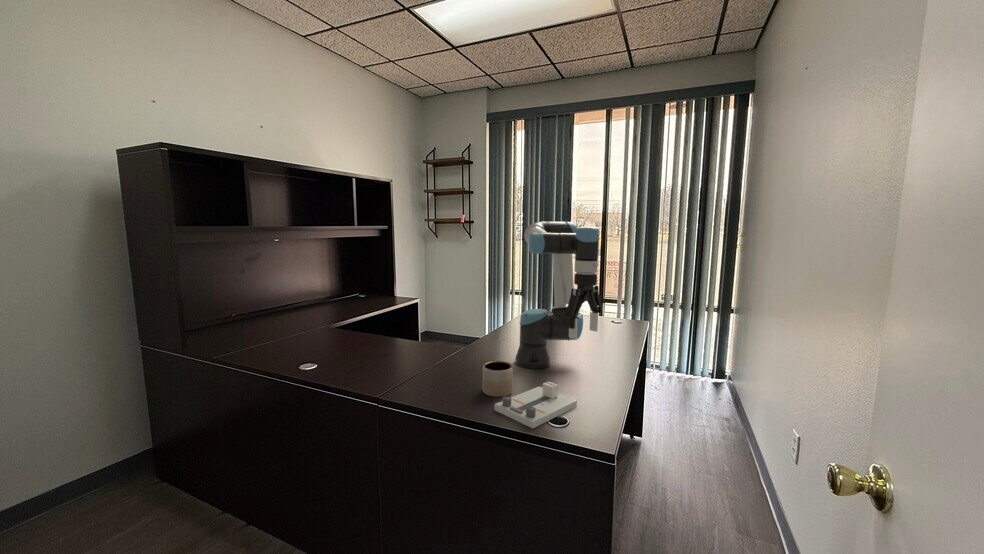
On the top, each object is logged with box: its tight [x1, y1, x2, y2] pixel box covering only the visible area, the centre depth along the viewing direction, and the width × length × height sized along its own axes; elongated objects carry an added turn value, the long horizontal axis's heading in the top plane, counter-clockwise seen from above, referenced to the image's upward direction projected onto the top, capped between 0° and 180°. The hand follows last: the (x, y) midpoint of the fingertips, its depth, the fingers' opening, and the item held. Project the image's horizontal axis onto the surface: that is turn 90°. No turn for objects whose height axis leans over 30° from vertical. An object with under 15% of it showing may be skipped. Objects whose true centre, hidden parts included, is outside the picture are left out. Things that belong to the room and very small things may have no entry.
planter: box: [481, 360, 514, 398], centre depth 139 cm, size 11×11×10 cm
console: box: [494, 386, 578, 429], centre depth 126 cm, size 16×22×4 cm
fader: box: [542, 381, 559, 399], centre depth 131 cm, size 4×3×4 cm
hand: (583, 334), depth 135 cm, fingers open, 13 cm apart
